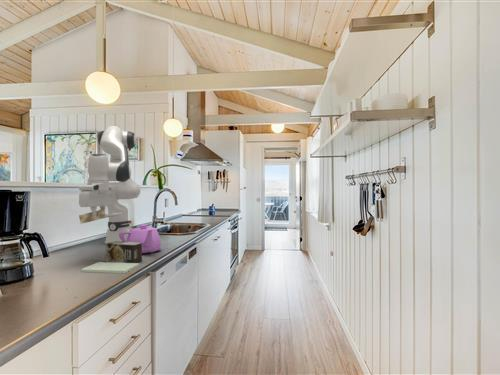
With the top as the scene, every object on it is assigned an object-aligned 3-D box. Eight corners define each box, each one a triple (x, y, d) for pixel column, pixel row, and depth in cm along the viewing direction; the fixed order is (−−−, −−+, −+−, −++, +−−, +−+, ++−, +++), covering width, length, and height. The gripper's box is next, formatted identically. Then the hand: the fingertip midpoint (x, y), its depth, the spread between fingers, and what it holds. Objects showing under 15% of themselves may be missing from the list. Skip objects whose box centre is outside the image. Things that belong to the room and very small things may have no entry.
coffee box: (104, 243, 124) (132, 245, 120) (115, 240, 130) (142, 242, 126) (105, 262, 124) (132, 264, 119) (115, 258, 130) (142, 261, 126)
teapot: (115, 252, 144) (115, 224, 144) (154, 247, 157) (154, 221, 157) (124, 261, 126) (124, 230, 126) (167, 254, 138) (167, 226, 138)
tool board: (98, 264, 121) (98, 262, 121) (139, 265, 119) (139, 263, 119) (80, 271, 110) (80, 269, 110) (125, 273, 108) (125, 270, 108)
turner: (75, 224, 122) (74, 216, 122) (89, 222, 130) (87, 214, 130) (111, 215, 119) (109, 206, 120) (122, 213, 127) (121, 205, 127)
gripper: (106, 187, 136) (106, 214, 136) (76, 186, 116) (75, 217, 115) (117, 187, 135) (117, 214, 135) (89, 186, 115) (89, 217, 114)
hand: (98, 215), depth 125 cm, fingers closed on turner, 3 cm apart
